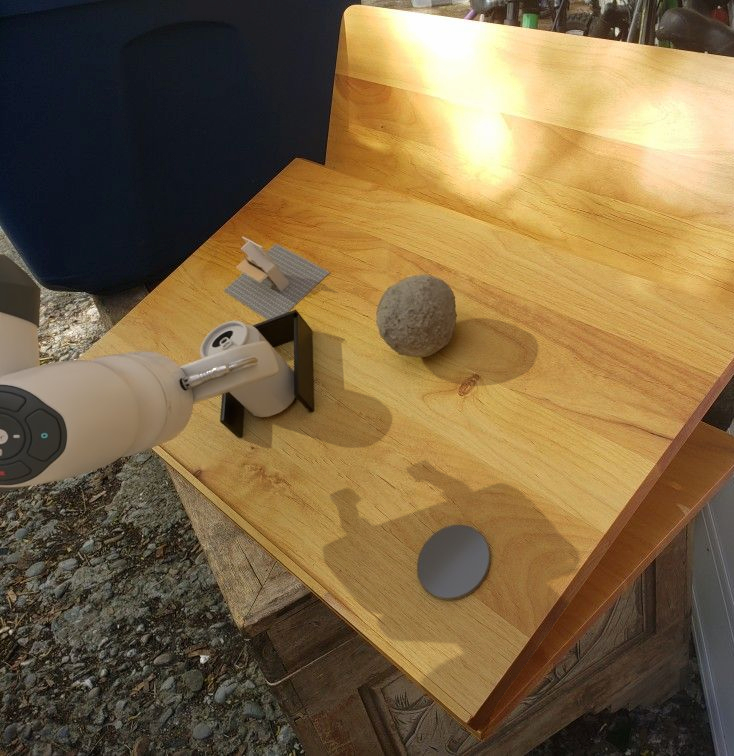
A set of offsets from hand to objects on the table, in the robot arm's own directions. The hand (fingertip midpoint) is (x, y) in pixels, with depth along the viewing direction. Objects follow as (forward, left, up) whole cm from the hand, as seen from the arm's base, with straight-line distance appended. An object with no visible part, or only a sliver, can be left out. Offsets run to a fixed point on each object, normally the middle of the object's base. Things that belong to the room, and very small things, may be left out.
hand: (210, 382), depth 75 cm
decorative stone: (+18, -15, -13) cm, 27 cm away
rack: (+8, +5, -13) cm, 16 cm away
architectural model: (+25, +17, -13) cm, 33 cm away
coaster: (-8, -30, -13) cm, 34 cm away
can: (+6, +3, -13) cm, 15 cm away
